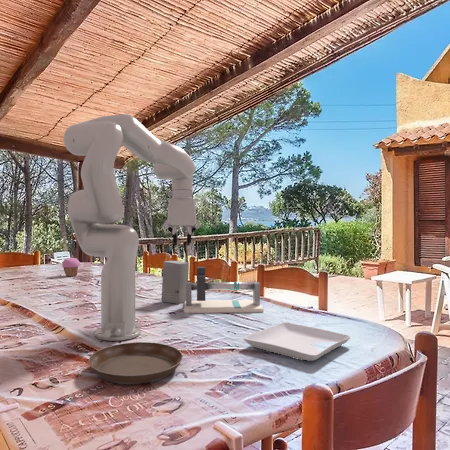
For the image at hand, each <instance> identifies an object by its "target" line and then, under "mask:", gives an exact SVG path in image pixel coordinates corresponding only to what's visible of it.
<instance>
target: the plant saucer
mask: <svg viewBox="0 0 450 450" xmlns="http://www.w3.org/2000/svg"><path fill="white" fill-rule="evenodd" d="M183 357H184V356H183V353H182V352H181V351H180V350H179V349H178V348H176V347H174V346H171V345H168V344H165V343H158V342H149V341H148V342H143V341H138V342H125V343H119V344H115V345H111V346H106V347H104V348H101V349H99V350H97V351H95V352H94V353H92V354H91V355H90V356H89V358H88V364H89V367H90V368H91V370H92V371H93V372H94V373H95V374H96V375H97V376H99V377H100V378H101V379H103V380H105V381H107V382H109V383H113V384H118V385H131V384H132V385H142V384H141V383H144V384H148V382H149V383H154V382H156V381H159V380H163V379H165V378H167V377H168V376H169V375H171V374H172V373H173V372H175V370H176V369H177V368H178V367H179V365H180V364H181V362H182V361H183ZM164 377H165V378H164ZM153 381H154V382H153Z"/></svg>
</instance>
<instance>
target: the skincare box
mask: <svg viewBox="0 0 450 450" xmlns="http://www.w3.org/2000/svg"><path fill="white" fill-rule="evenodd" d="M189 266H190V262H186V261H179V260H166V261H163V267H162V269H163V270H162V283H161V303H167V304H168V303H169V304H175V305H176V304H177V305H180V304H182V303H185V301H186V282H189V272H190V270H189Z"/></svg>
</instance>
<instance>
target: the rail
mask: <svg viewBox="0 0 450 450" xmlns="http://www.w3.org/2000/svg"><path fill="white" fill-rule="evenodd" d="M246 290H247V291H252V300H253V304H254V306H255V305H260V304H261V283H260V282H259V281H245V282H244V281H243V282H242V281H241V282H240V281H233V282H232V281H231V282H230V281H229V282H227V281H226V282H225V281H223V282H212V281H211V282H208V281H207V282H206V281H205V291H246ZM192 291H197V282H192V281H188V282H186V306H191V304H192V301H193V300H192V296H193V295H192V294H193V293H192Z"/></svg>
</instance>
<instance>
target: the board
mask: <svg viewBox="0 0 450 450" xmlns="http://www.w3.org/2000/svg"><path fill="white" fill-rule="evenodd" d="M186 313H187V314H196V313H197V314H199V313H200V314H203V313H204V314H205V313H206V314H207V313H209V314H211V313H212V314H214V313H221V314H223V313H264V308H263V305H261V303H260V305H255V306H254V304H253V299H230V300H229V299H225V300H224V299H223V300H222V299H219V300H216V299H215V300H210V299H209V300H208V299H207V300H206V299H205V301H197V300H192V304H191V306H186V301H185V302H184V307H183V314H186Z"/></svg>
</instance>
